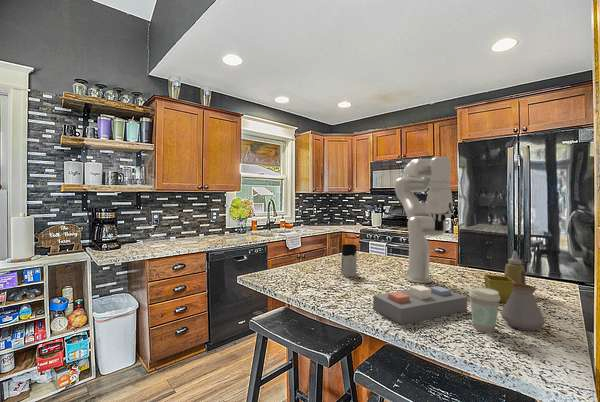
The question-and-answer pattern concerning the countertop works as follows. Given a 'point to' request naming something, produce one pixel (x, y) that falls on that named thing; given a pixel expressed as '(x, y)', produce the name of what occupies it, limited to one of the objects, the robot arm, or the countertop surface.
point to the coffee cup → (484, 308)
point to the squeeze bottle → (514, 268)
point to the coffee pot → (522, 308)
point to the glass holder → (348, 260)
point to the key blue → (440, 291)
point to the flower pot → (500, 285)
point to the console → (419, 306)
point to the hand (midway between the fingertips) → (438, 230)
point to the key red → (398, 297)
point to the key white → (420, 292)
